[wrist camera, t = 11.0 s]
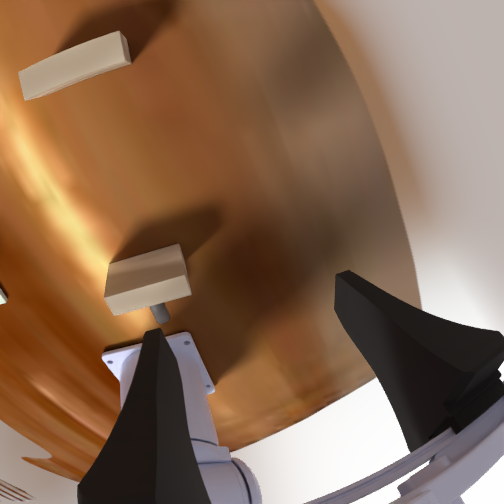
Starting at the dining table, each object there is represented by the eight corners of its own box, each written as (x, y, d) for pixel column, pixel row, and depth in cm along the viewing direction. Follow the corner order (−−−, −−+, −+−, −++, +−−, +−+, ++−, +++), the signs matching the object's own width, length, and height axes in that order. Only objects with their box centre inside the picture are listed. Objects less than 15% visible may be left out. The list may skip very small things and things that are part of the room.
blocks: (193, 288, 22) (201, 321, 20) (129, 306, 22) (129, 341, 19) (126, 39, 13) (119, 30, 10) (43, 71, 12) (18, 72, 9)
